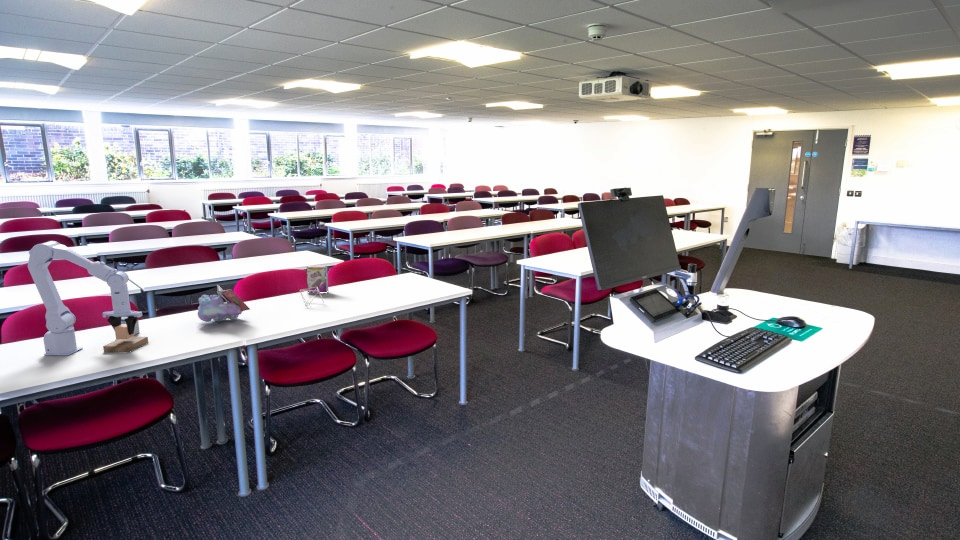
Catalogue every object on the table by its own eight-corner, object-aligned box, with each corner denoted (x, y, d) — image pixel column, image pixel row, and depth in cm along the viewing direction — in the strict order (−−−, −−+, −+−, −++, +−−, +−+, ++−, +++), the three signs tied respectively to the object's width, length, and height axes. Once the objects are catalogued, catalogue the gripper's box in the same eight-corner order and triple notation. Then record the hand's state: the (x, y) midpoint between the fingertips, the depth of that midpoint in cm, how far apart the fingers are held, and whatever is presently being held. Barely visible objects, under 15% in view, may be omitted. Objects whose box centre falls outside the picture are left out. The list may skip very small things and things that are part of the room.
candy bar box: (307, 294, 299) (305, 267, 296) (309, 292, 304) (308, 265, 301) (326, 294, 300) (325, 267, 297) (328, 292, 305) (327, 265, 302)
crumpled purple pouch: (196, 320, 246) (193, 284, 243) (244, 313, 258) (242, 279, 254) (200, 331, 230) (197, 292, 226) (252, 323, 241) (249, 287, 238)
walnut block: (104, 353, 202) (103, 346, 202) (124, 343, 214) (124, 336, 213) (129, 353, 202) (128, 346, 202) (148, 343, 214) (147, 336, 213)
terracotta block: (116, 339, 205) (114, 327, 204) (123, 335, 209) (122, 323, 208) (127, 339, 205) (125, 327, 204) (134, 335, 209) (133, 324, 208)
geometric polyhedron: (324, 301, 283) (323, 286, 281) (325, 306, 273) (324, 290, 271) (300, 303, 279) (299, 287, 277) (300, 308, 269) (299, 292, 267)
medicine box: (130, 332, 227) (127, 314, 225) (140, 332, 226) (137, 314, 225) (117, 338, 219) (114, 319, 217) (127, 338, 219) (124, 319, 217)
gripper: (95, 304, 200) (100, 337, 203) (132, 304, 201) (136, 337, 203) (107, 299, 207) (112, 331, 210) (143, 299, 207) (147, 331, 210)
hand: (125, 334), depth 207 cm, fingers closed on terracotta block, 4 cm apart
